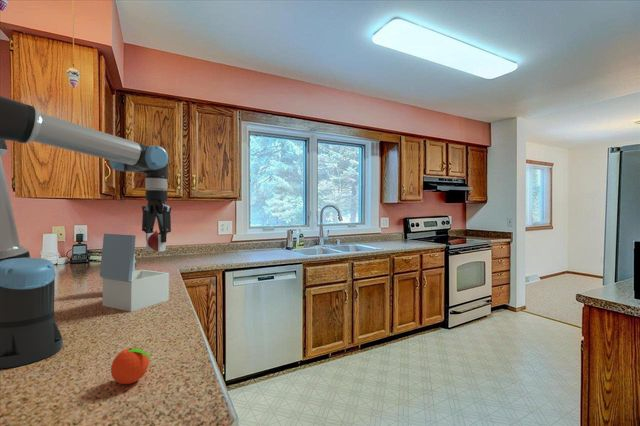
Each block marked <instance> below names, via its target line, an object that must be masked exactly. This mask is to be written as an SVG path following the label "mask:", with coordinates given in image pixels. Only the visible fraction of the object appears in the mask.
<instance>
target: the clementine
mask: <svg viewBox="0 0 640 426" xmlns="http://www.w3.org/2000/svg"><path fill="white" fill-rule="evenodd" d="M150 362H152V359H151V357H150V355H149V354H148V353H147V352H146V351H144V350H143V349H141V348H138V347H129V348H126V349H124V350H122V351H121V352H120V353H118V354H117V355H116V356H115V358H114V359H113V361H112V363H111V365H110V373H111V374H110V375H111V376H112V379H113V380H114V381H116V382H117V383H118V384H121V385H130V384H134V383H136V382H137V381H139V380H140V379H142V378H143V377H144V375H145V374H146V373H147V371H148V368H149V364H150Z"/></svg>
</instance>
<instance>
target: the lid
mask: <svg viewBox="0 0 640 426" xmlns="http://www.w3.org/2000/svg"><path fill="white" fill-rule="evenodd" d="M136 237H137V236H136V235H134V234H119V233H118V234H117V233H103V239H102V250H101V260H100V270H99V277H100V278H102V279H103V278H105V279H112V280H118V281H125V282H129V281H130V280H132V270H133V259H134V254H135V246H136Z"/></svg>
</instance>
